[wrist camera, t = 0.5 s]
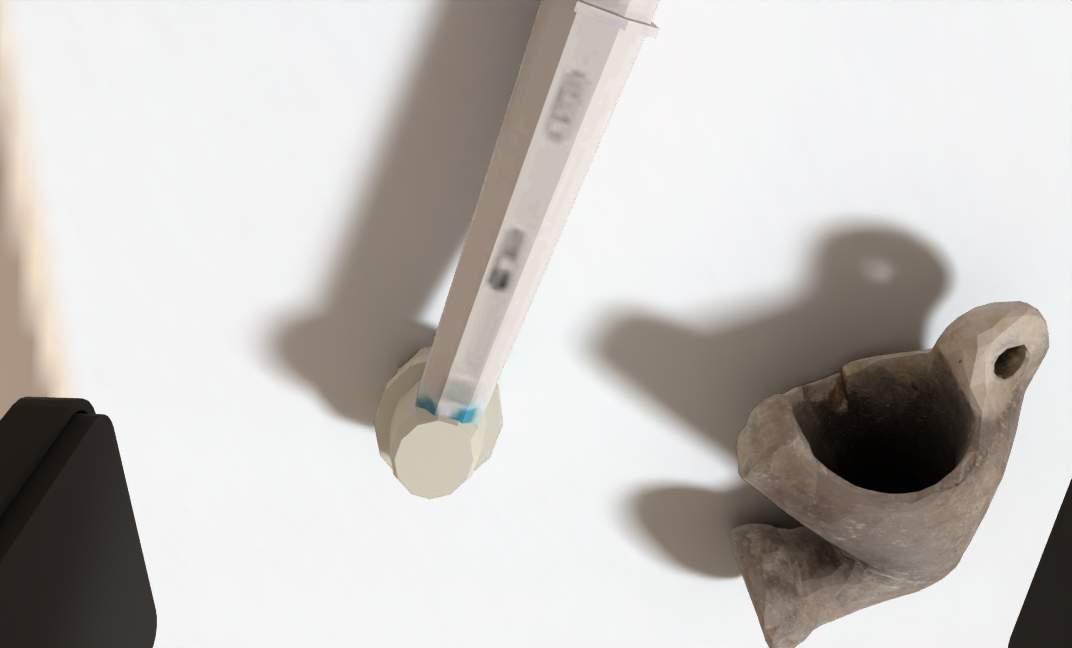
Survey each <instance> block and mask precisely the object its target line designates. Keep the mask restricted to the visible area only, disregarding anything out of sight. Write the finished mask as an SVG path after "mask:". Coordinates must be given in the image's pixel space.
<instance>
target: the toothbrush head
mask: <svg viewBox="0 0 1072 648" xmlns="http://www.w3.org/2000/svg"><path fill="white" fill-rule="evenodd" d="M659 1H660V0H541V2H540V5H539V8H538V11H537V15H536V18H535V21H534V24H533V27H532V30H531V34H530V37H529V40H528V43H527V46H526V49H525V53H524V56H523V59H522V62H521V65H520V68H519V72H518V75H517V78H516V81H515V84H514V88H513V91H512V94H511V97H510V100H509V103H508V107H507V110H506V113H505V116H504V119H503V122H502V126H501V129H500V132H499V135H498V138H497V141H496V145H495V148H494V151H493V154H492V157H491V160H490V164H489V167H488V170H487V173H486V176H485V179H484V183H483V186H482V189H481V192H480V195H479V199H478V202H477V205H476V208H475V211H474V214H473V218H472V221H471V224H470V227H469V230H468V233H467V237H466V240H465V243H464V246H463V249H462V252H461V256H460V259H459V262H458V265H457V268H456V271H455V275H454V278H453V281H452V284H451V287H450V291H449V294H448V297H447V300H446V303H445V306H444V310H443V313H442V316H441V319H440V322H439V325H438V329H437V332H436V335H435V338H434V341H433V344H432V346H429V347H424V348H420V349H419V351H418V352H417V353H416V354H415V355H414V356H413V357H411V358H410V359H409V360H408V361H407V362H406V363H405V364H404V365H403V366H402V367H401V368H400V367H398V370H397V373H396V375H395V376H394V377H392V378H391V379H390V380H389V381H388V382H387V384H386V387H385V390H384V393H383V396H382V399H381V402H380V405H379V408H378V411H377V414H376V417H375V421H374V426H375V431H376V436H377V442H378V447H379V452H380V456H381V457H382V458H383V459H384V460H385V461H386V463H387V464H388V465H389V466H390V467H391V468H392V469H393V474H394V475H395V476H396V478H397V479H398V480H399V481H400V482H401V483H402V484H403V485H404V487H405V488H406V489H407V490H408V491H409V492H410V493H411V494H413V495H417V496H420V497H424V498H427V499H433V498H437V497H442V496H446V495H450V494H451V493H452V492H453V491H455V490H456V489H457V488H458V487H459V486H460V485H461V484H463V483H464V482H465V481H466V480H467V479H468V478H469V477H470V476H472V474H473V472H474V471H475V470H476V469H477V468H478V467H480V466H481V465H482V464H483V463H484V462H485V461H486V460H488V459H489V458H490V456H491V454H492V451H493V448H494V446H495V443H496V441H497V438H498V436H499V433H500V431H501V428H502V426H503V417H502V409H501V402H500V394H499V387H498V384H497V382H498V379H499V377H500V375H501V372H502V370H503V368H504V365H505V363H506V361H507V358H508V356H509V354H510V351H511V349H512V347H513V344H514V342H515V340H516V337H517V335H518V333H519V330H520V328H521V326H522V323H523V321H524V319H525V316H526V314H527V312H528V309H529V307H530V305H531V302H532V300H533V298H534V295H535V293H536V291H537V288H538V286H539V284H540V281H541V279H542V277H543V274H544V272H545V270H546V267H547V265H548V263H549V260H550V258H551V256H552V253H553V251H554V249H555V246H556V244H557V242H558V239H559V237H560V235H561V232H562V230H563V228H564V225H565V223H566V221H567V218H568V216H569V214H570V211H571V209H572V207H573V204H574V202H575V200H576V197H577V195H578V193H579V190H580V188H581V186H582V183H583V181H584V179H585V176H586V174H587V172H588V169H589V167H590V165H591V162H592V160H593V158H594V155H595V153H596V151H597V148H598V146H599V144H600V141H601V139H602V137H603V134H604V132H605V130H606V127H607V125H608V123H609V120H610V118H611V116H612V113H613V111H614V109H615V106H616V104H617V102H618V99H619V97H620V95H621V92H622V90H623V88H624V85H625V83H626V81H627V78H628V76H629V74H630V71H631V69H632V67H633V64H634V62H635V60H636V57H637V55H638V53H639V50H640V48H641V46H642V43H643V41H644V39H645V36H648V37H652V38H656V37H657V34H658V32H659V28H658V27H657V26H656V25H655V24H654V23H652V22H651V21H652V19H653V16H654V13H655V11H656V8H657V6H658V3H659Z"/></svg>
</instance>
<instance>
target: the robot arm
mask: <svg viewBox="0 0 1072 648" xmlns="http://www.w3.org/2000/svg"><path fill="white" fill-rule="evenodd" d="M156 628H157V615H156V609H155V605H154V600H153V596H152V592H151V587H150V583H149V579H148V574H147V570H146V566H145V561H144V557H143V553H142V548H141V544H140V540H139V535H138V531H137V527H136V522H135V518H134V514H133V509H132V505H131V501H130V496H129V492H128V488H127V483H126V479H125V475H124V470H123V466H122V462H121V457H120V453H119V449H118V444H117V440H116V436H115V431H114V427H113V424H112V422H111V420H110V418H109V417H108V416H106V415H104V414H96V413H95V411H94V408H93V406H92V405H91V404H90V402H89V401H87V400H85V399H81V398H50V397H24V398H20V399H19V400H18V401H17V402H16V403H15V404H13V405H12V407H11V408H10V409H9V410H8V412H7V413H6V414H5V415H4V417H3V418H2V419H1V420H0V648H153V645H154V641H155V636H156ZM1008 648H1072V479H1071V482H1070V484H1069V487H1068V489H1067V492H1066V495H1065V497H1064V500H1063V502H1062V505H1061V507H1060V510H1059V513H1058V515H1057V518H1056V520H1055V523H1054V526H1053V528H1052V531H1051V533H1050V536H1049V539H1048V541H1047V544H1046V546H1045V549H1044V552H1043V554H1042V557H1041V559H1040V562H1039V565H1038V567H1037V570H1036V572H1035V575H1034V578H1033V580H1032V583H1031V585H1030V588H1029V590H1028V593H1027V596H1026V598H1025V601H1024V603H1023V606H1022V609H1021V611H1020V614H1019V616H1018V619H1017V622H1016V624H1015V627H1014V629H1013V632H1012V635H1011V637H1010V641H1009V645H1008Z"/></svg>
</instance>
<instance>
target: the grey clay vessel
mask: <svg viewBox="0 0 1072 648" xmlns="http://www.w3.org/2000/svg"><path fill="white" fill-rule="evenodd" d="M1048 348H1049V334H1048V329H1047V324H1046V321H1045V319H1044V318H1043V316H1042V315H1041V313H1040V312H1039V310H1038V309H1036V308H1034V307H1033V306H1031V305H1029V304H1027V303H1024V302H1020V301H1014V302H995V303H990V304H986V305H983V306H979V307H975V308H974V309H972V310H970V311H968V312H967V313H965V314H963V315H962V316H960V317H958V318H957V319H956V320H955V321H954V322H952V323H951V324H950V325H949V326H948V327H947V328H946V329H945V331H944V332H943V333H942V334H941V336H940V337H939V339H938V340H937V342H936V344H935V345H934V347H933V348H932V349H928V350H919V351H909V352H901V353H893V354H885V355H878V356H872V357H868V358H863V359H859V360H854V361H851V362H849V363H847V364H846V365H844V366H843V367H842V372H841V373H835V374H833V375H830V376H828V377H826V378H823V379H820V380H817V381H815V382H812V383H809V384H806V385H803V386H799V387H795V388H793V389H791V390H790V391H788V392H786V393H784V394H774V395H772V396H769V397H767V398H765V399H764V400H763V401H761V402H760V403H759V404H758V405H757V406H756V407H755V408H754V409H753V410H752V411H751V412H750V414H749V416H748V419H747V422H746V425H745V428H743V429H742V430H741V431H740V433H739V435H738V438H737V444H736V451H737V457H738V473H739V475H740V476H741V478H742V479H743V480H744V481H746V482H747V483H749V484H750V485H752V486H753V487H754V488H756V489H757V490H758V491H760V492H761V493H762V494H763V495H765V496H766V497H767V498H768V499H770V500H771V501H772V502H774V503H775V504H776V505H777V506H779V507H780V508H781V509H782V510H784V511H785V512H786V513H788V514H789V515H790V516H792V517H793V518H795V519H796V520H797V521H799V522H800V523H802V524H803V525H805V526H801V527H797V528H793V529H784V528H776V527H774V526H772V525H767V524H760V523H754V524H745V525H741V526H737V527H734V528H732V529H731V530H730V533H729V536H730V540H731V544H732V548H733V551H734V554H735V557H736V560H737V563H738V565H739V568H740V571H741V573H742V576H743V579H744V581H745V584H746V587H747V589H748V592H749V595H750V598H751V600H752V603H753V606H754V608H755V611H756V613H757V616H758V619H759V622H760V625H761V628H762V631H763V634H764V637H765V640H766V642H767V644H768V646H769V648H795V647H796V646H797V645H798V644H800V643H801V642H803V641H804V640H805V639H806V638H807V637H808V636H809V634H810V633H811V632H812V631H813V630H814V629H816V628H818V627H819V626H821V625H823V624H825V623H828V622H831V621H834V620H836V619H839V618H841V617H843V616H846V615H848V614H851V613H853V612H856V611H858V610H860V609H863V608H866V607H869V606H872V605H875V604H878V603H881V602H884V601H887V600H890V599H893V598H897V597H900V596H904V595H907V594H911V593H915V592H918V591H920V590H922V589H924V588H926V587H928V586H931V585H933V584H934V583H936V582H938V581H940V580H941V579H943V578H944V577H945V576H947V575H948V574H949V573H950V572H951V571H952V570H953V569H954V568H955V567H956V566H957V564H958V563H959V562H960V559H961V557H962V555H963V553H964V552H965V550H966V549H967V547H968V545H969V544H970V542H971V540H972V538H973V536H974V534H975V532H976V531H977V529H978V527H979V525H980V523H981V521H982V519H983V517H984V516H985V514H986V512H987V510H988V507H989V505H990V503H991V500H992V498H993V496H994V494H995V492H996V490H997V488H998V486H999V484H1000V482H1001V480H1002V477H1003V475H1004V472H1005V468H1006V465H1007V462H1008V459H1009V455H1010V452H1011V449H1012V445H1013V441H1014V437H1015V434H1016V430H1017V425H1018V420H1019V415H1020V410H1021V406H1022V402H1023V397H1024V393H1025V391H1026V389H1027V387H1028V385H1029V384H1030V382H1031V380H1032V378H1033V376H1034V375H1035V373H1036V371H1037V369H1038V367H1039V366H1040V364H1041V362H1042V360H1043V358H1044V357H1045V355H1046V353H1047V350H1048Z"/></svg>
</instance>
